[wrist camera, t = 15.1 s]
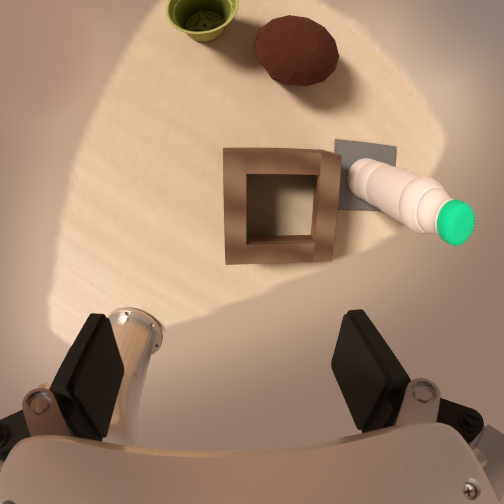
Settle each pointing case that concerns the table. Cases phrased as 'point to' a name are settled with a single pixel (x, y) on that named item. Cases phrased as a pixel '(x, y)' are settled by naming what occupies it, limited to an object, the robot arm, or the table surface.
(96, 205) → the table surface
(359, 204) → the mat
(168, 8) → the plant pot
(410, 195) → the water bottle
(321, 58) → the muffin
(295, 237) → the slot box
